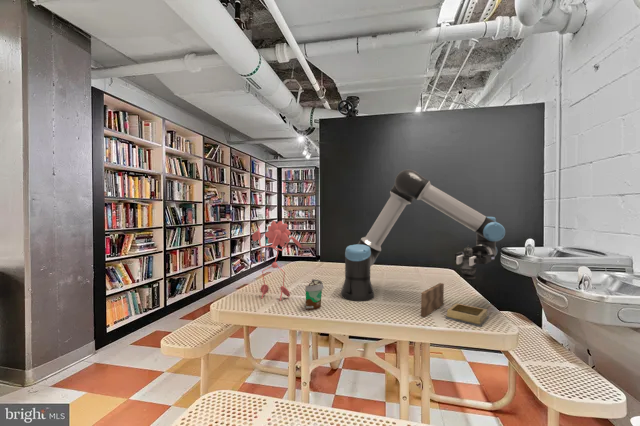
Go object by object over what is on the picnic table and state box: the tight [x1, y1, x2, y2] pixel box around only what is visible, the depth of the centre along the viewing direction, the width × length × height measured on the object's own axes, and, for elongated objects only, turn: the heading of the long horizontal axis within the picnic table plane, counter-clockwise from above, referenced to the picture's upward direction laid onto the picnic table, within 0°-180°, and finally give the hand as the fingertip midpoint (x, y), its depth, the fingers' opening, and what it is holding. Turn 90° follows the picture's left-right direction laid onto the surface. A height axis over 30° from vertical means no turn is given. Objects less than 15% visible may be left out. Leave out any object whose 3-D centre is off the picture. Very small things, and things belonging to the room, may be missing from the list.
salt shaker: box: [459, 244, 478, 280], centre depth 110 cm, size 6×6×12 cm
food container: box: [304, 279, 324, 311], centre depth 121 cm, size 12×6×10 cm, turn 168°
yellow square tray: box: [445, 303, 490, 328], centre depth 110 cm, size 12×12×3 cm
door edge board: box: [420, 282, 445, 318], centre depth 119 cm, size 20×2×9 cm, turn 138°
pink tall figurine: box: [251, 220, 303, 303], centre depth 137 cm, size 15×26×35 cm, turn 71°
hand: (463, 261), depth 106 cm, fingers closed on salt shaker, 4 cm apart
